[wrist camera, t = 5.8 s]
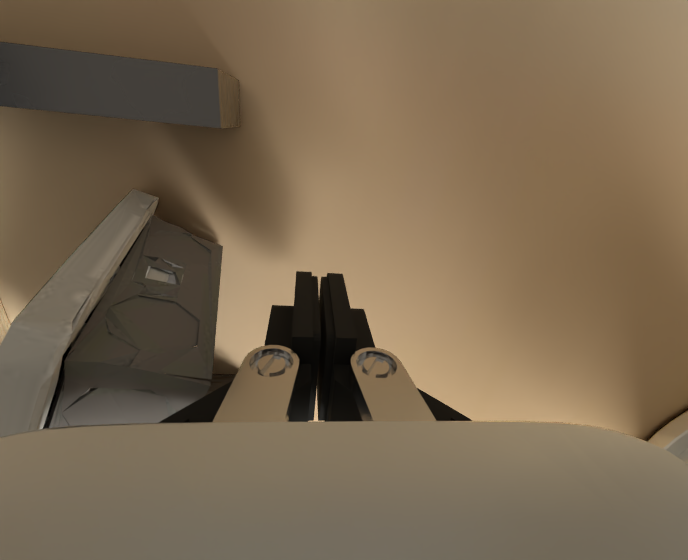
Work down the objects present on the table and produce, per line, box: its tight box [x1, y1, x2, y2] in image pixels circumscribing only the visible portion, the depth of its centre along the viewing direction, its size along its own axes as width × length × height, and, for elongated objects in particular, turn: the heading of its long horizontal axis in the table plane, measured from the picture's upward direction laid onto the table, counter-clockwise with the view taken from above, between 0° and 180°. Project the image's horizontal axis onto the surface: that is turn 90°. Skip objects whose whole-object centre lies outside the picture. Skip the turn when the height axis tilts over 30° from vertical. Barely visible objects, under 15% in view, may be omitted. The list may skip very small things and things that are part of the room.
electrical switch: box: [0, 189, 223, 437], centre depth 11 cm, size 9×5×9 cm, turn 149°
